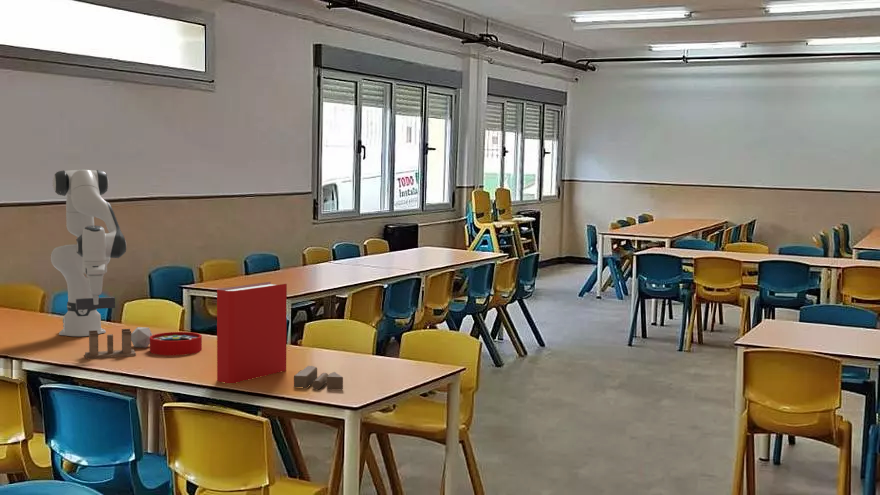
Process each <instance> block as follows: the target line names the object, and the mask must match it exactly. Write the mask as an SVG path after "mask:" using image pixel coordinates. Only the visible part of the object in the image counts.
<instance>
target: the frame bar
mask: <svg viewBox="0 0 880 495" xmlns="http://www.w3.org/2000/svg"><path fill="white" fill-rule="evenodd" d="M98 303H99V304H98V305H94V304H93V298H81V299H76V310H85V309H96V310H99V309H100V310H102V309H115V308H116V297H115V296H104V297H99V300H98Z"/></svg>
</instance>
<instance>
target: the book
mask: <svg viewBox="0 0 880 495" xmlns="http://www.w3.org/2000/svg"><path fill="white" fill-rule="evenodd" d="M287 285H288V283H282V284H272V283H271V281H267V282H265V281H264V282H259V283H258V282H257V283H251V284H245V285H243V284H242V285H235V286H230V287H229V286H228V287H222V288H217V289H216V361H217V362H216V378H217V380H216V382H217V381H220V382H219V383H222V382H225V383H224V384H227V383H235V384H237V383H236V382H239V383H241V382H240V381H243V380H247V381H249V380H248V379H251V380H253V379H252V378H255V379H257V378H256V377H259V378H261V377H260V376H262V377H265V375H266V376H270V375H273V373H274V374H278V373H282V372H286V371H287V323H288V322H287V320H288V318H287V317H288V316H287V314H288V313H287V312H288V311H287V306H288V304H287V301H288V300H287V299H288V297H287V293H288V292H287V289H288V288H287ZM285 370H286V371H285ZM281 371H282V372H281ZM277 372H278V373H277ZM269 374H270V375H269ZM243 382H244V381H243Z"/></svg>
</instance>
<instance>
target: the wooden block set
mask: <svg viewBox="0 0 880 495" xmlns="http://www.w3.org/2000/svg"><path fill="white" fill-rule="evenodd" d="M325 384H326V389H327V390H332V389H343V390H344V377H343V376H342V375H340V374H338V373H337V372H336V371H333V372H331V373H329V374H328V373H327V372H323V373H321V374H320V375H319V376H318V368H317V366H313V365H307V366H306V367H304V368H303V369H301V370H299V371H298V372H297V373H296V374H295V375H294V376H293V388H294V387H303V388H302V389H308V388H309V387H310V386H311V387H312V389H313V390H316V389H318V390H320V389H321V388H322V387H323V386H324V385H325ZM309 385H310V386H309ZM308 386H309V387H308ZM307 387H308V388H307Z"/></svg>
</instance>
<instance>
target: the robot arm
mask: <svg viewBox="0 0 880 495" xmlns="http://www.w3.org/2000/svg"><path fill="white" fill-rule="evenodd" d="M52 186H53V190H54V192H55V193H56V195H58V196H64V197H65V196H66V202H65V211H66V212H65V218H66V220H65V221H66V224H65V225H66V229H67V231H68V233H70V234H71V235H73V236H75V237H76V244H64V245H60V246H57V247H54V248H53V249H52V251H51V254H50V263H51V265H52V266H53V268H55V269H56V270H57V271H59V273H61V275H62V276H63V277H64V279H65V282H66V285H67V286H66V287H67V299H68V301H66V302H67V303H66V308H67V312H66V313H65V314H64V315H63V317H62V327H63V328H62V329H61V330H60V331H59V333H58V335H59V336H68V337H89V331H95V330H97V333H98V335H99V334H100V335H101V334H105V333H107V332H106V329H104V328H102V323H101V321H102V320H101V316H102V315H101V313H99V312H98V311H97V310H98V309H85V310H76V299H81V298H93V304H94V305H98V304H99V303H98V300H99V298H100V295H102V294H103V293H102V292H103V284H104V276H105V274H106V273H108V264H109V263H110V261H111V259H119V258H121V257H122V256H123V255H124V254H126V252H127V245H128V244H127V241H126V239H125V235H124V233H123V232H122V230H121V228H120V225H119V222H118V220H117V217H116V215H115V212H114V209H113V207H112V205H111V203H110V202H108V201H106V200H105V199H104V198H103V197H102V195H105V194H106V193H107V192H108V189H109V187H110V180H109V177H108V174H107V173H106V172H105V171H104V170H99V169H96V170H95V169H71V170H63V169H62V170H58V171H56V173H54V175H53V178H52ZM95 218H96V219H99V220H101V221H103V222H104V224H105V226H106V228H107V231H108V232H106V231H105V228H104V227H103V226H101V225H95ZM85 275H86V276H85Z"/></svg>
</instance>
